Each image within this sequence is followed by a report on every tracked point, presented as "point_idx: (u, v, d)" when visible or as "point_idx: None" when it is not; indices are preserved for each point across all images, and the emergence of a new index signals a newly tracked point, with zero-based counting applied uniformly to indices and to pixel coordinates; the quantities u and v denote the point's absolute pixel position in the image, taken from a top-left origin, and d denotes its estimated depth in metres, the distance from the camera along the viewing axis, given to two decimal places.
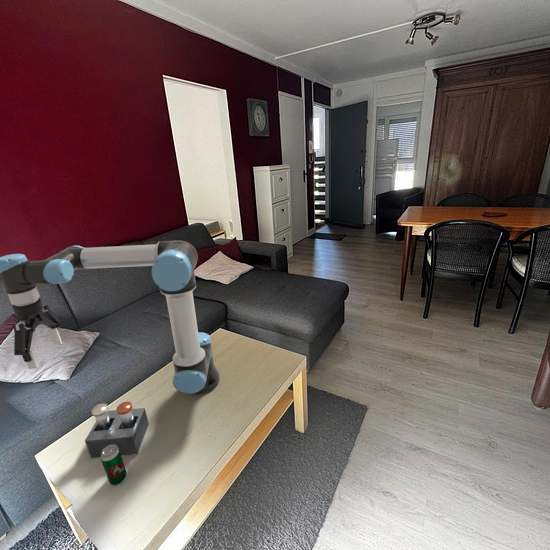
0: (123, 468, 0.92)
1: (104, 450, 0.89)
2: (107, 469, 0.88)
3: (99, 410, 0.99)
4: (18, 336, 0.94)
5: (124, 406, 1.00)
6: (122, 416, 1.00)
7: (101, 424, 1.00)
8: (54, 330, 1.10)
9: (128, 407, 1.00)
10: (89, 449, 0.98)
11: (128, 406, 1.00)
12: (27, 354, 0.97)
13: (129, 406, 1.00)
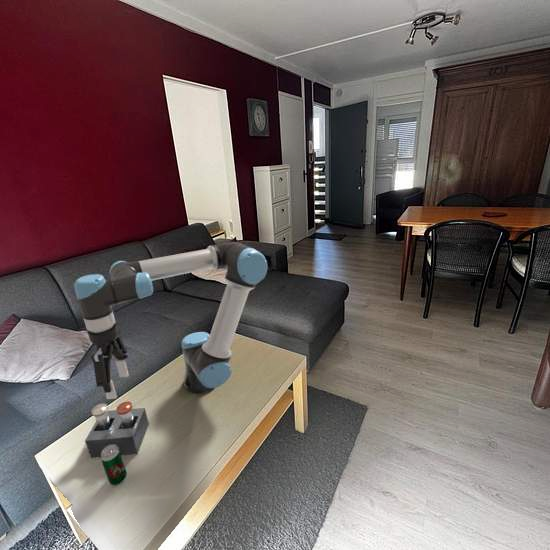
0: (123, 468, 0.92)
1: (104, 450, 0.89)
2: (107, 469, 0.88)
3: (99, 410, 0.99)
4: (98, 367, 0.86)
5: (124, 406, 1.00)
6: (122, 416, 1.00)
7: (101, 424, 1.00)
8: (122, 361, 0.99)
9: (128, 407, 1.00)
10: (89, 449, 0.98)
11: (128, 406, 1.00)
12: (108, 384, 0.89)
13: (129, 406, 1.00)
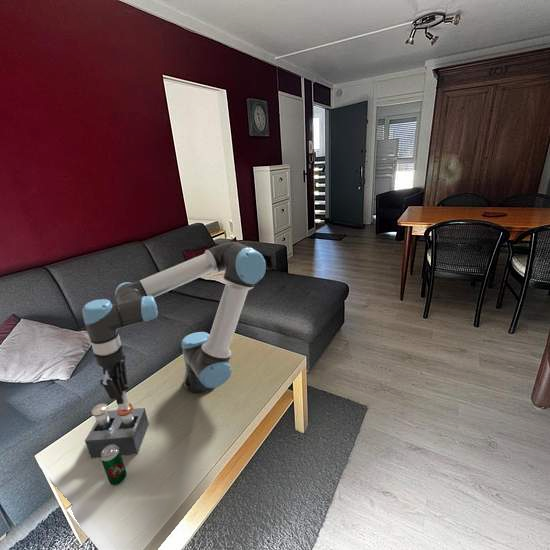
0: (123, 468, 0.92)
1: (104, 450, 0.89)
2: (107, 469, 0.88)
3: (99, 410, 0.99)
4: (109, 388, 0.91)
5: None
6: (123, 418, 1.00)
7: (101, 424, 1.00)
8: (122, 393, 0.98)
9: (128, 409, 1.00)
10: (89, 449, 0.98)
11: (128, 408, 1.01)
12: (120, 397, 0.97)
13: (129, 408, 1.01)
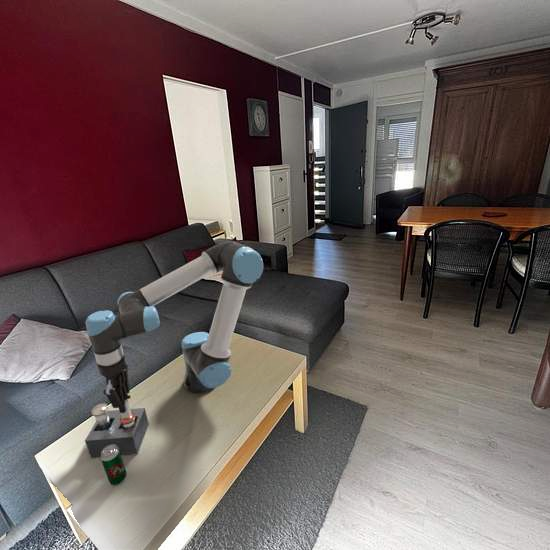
0: (123, 468, 0.92)
1: (104, 450, 0.89)
2: (107, 469, 0.88)
3: (99, 410, 0.99)
4: (112, 397, 0.93)
5: None
6: (125, 426, 1.01)
7: (101, 424, 1.00)
8: (125, 402, 1.00)
9: (131, 417, 1.02)
10: (89, 449, 0.98)
11: (131, 416, 1.02)
12: (123, 405, 0.98)
13: (132, 416, 1.02)
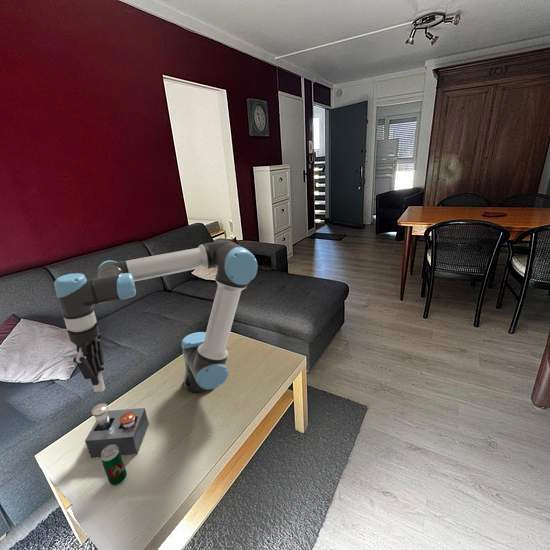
0: (123, 468, 0.92)
1: (104, 450, 0.89)
2: (107, 469, 0.88)
3: (99, 410, 0.99)
4: (83, 367, 0.87)
5: (127, 416, 1.02)
6: (125, 426, 1.01)
7: (101, 424, 1.00)
8: (98, 374, 0.94)
9: (131, 417, 1.02)
10: (89, 449, 0.98)
11: (131, 416, 1.02)
12: (96, 377, 0.93)
13: (132, 416, 1.02)
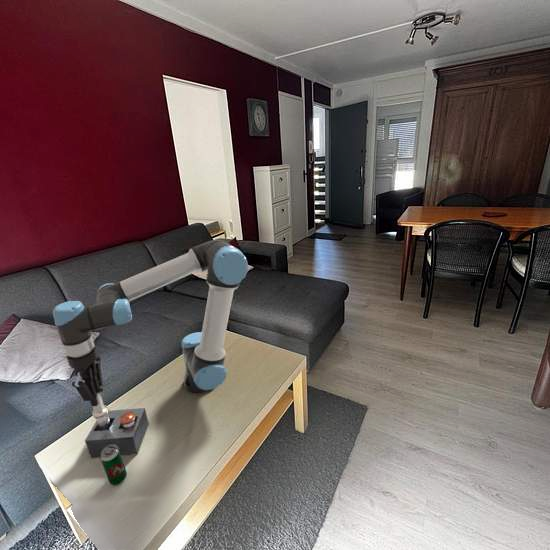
0: (123, 468, 0.92)
1: (104, 450, 0.89)
2: (107, 469, 0.88)
3: (100, 412, 0.99)
4: (81, 390, 0.91)
5: (127, 416, 1.02)
6: (125, 426, 1.01)
7: (102, 426, 1.00)
8: (97, 395, 0.98)
9: (131, 417, 1.02)
10: (89, 449, 0.98)
11: (131, 416, 1.02)
12: (94, 398, 0.96)
13: (132, 416, 1.02)
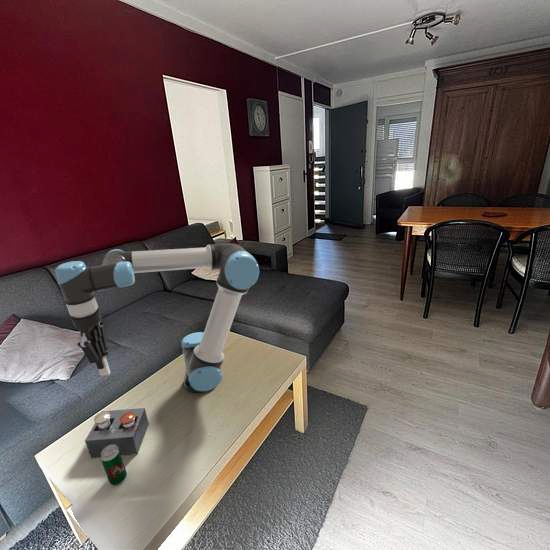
0: (123, 468, 0.92)
1: (104, 450, 0.89)
2: (107, 469, 0.88)
3: (102, 418, 1.00)
4: (87, 351, 0.91)
5: (127, 416, 1.02)
6: (125, 426, 1.01)
7: None
8: (103, 358, 0.98)
9: (131, 417, 1.02)
10: (89, 449, 0.98)
11: (131, 416, 1.02)
12: (100, 361, 0.97)
13: (132, 416, 1.02)
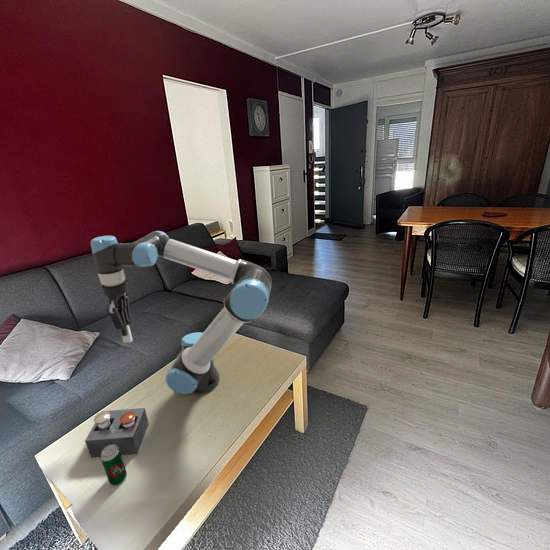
0: (123, 468, 0.92)
1: (104, 450, 0.89)
2: (107, 469, 0.88)
3: (102, 418, 1.00)
4: (114, 317, 1.01)
5: (127, 416, 1.02)
6: (125, 426, 1.01)
7: None
8: None
9: (131, 417, 1.02)
10: (89, 449, 0.98)
11: (131, 416, 1.02)
12: (125, 329, 1.07)
13: (132, 416, 1.02)
